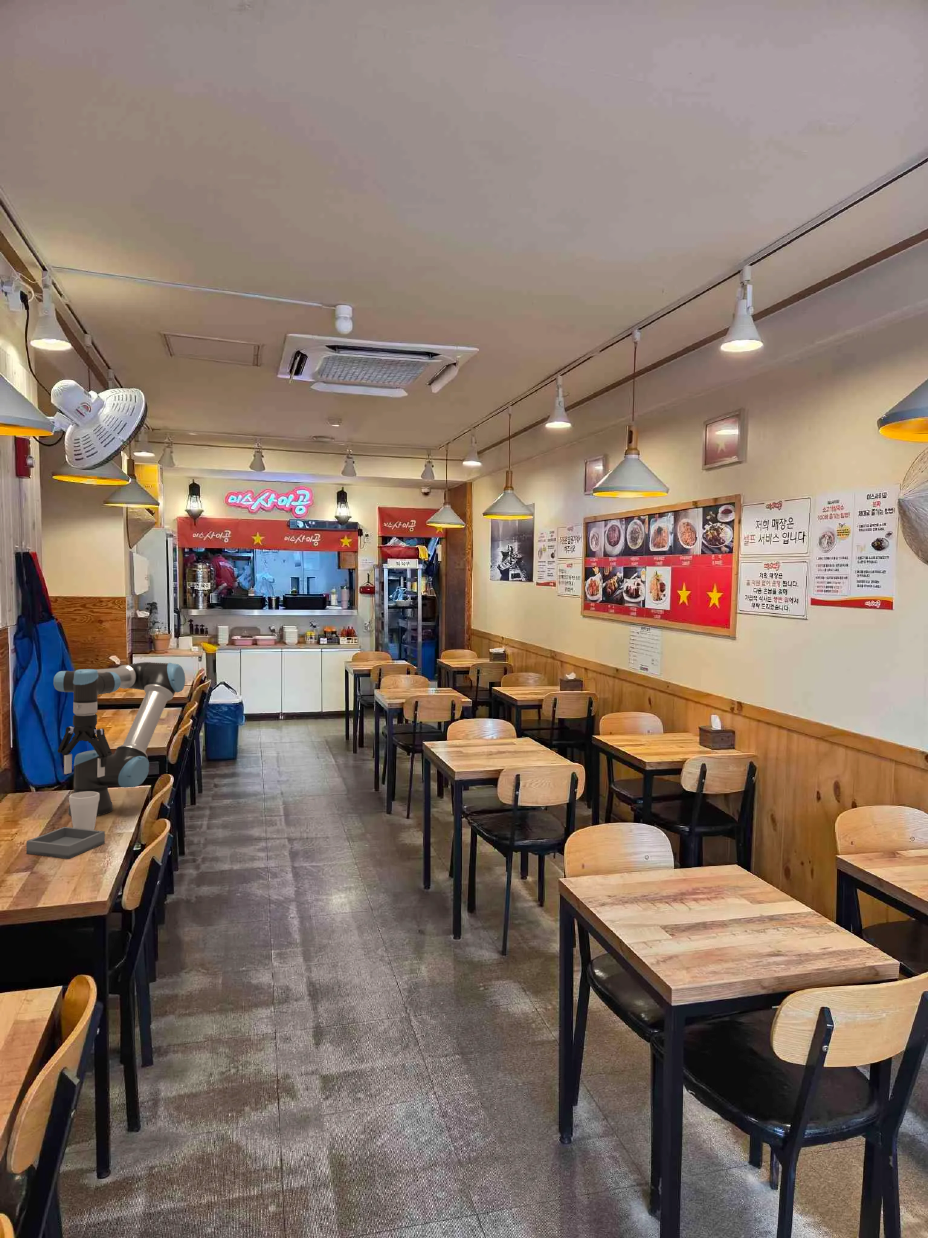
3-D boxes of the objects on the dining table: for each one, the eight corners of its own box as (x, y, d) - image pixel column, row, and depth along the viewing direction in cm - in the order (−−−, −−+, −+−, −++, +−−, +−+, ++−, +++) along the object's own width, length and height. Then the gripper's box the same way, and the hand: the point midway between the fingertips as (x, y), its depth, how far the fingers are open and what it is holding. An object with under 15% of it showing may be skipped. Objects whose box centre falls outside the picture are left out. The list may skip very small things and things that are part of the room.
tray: (64, 838, 257) (64, 826, 257) (104, 843, 253) (104, 831, 253) (26, 853, 242) (26, 841, 242) (68, 859, 238) (68, 846, 238)
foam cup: (104, 830, 267) (105, 793, 267) (81, 837, 259) (82, 799, 258) (86, 826, 271) (86, 790, 271) (62, 833, 263) (63, 796, 262)
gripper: (46, 713, 263) (46, 774, 263) (108, 717, 257) (107, 780, 257) (63, 710, 270) (62, 769, 271) (123, 714, 264) (122, 775, 265)
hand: (84, 775), depth 264 cm, fingers open, 13 cm apart
